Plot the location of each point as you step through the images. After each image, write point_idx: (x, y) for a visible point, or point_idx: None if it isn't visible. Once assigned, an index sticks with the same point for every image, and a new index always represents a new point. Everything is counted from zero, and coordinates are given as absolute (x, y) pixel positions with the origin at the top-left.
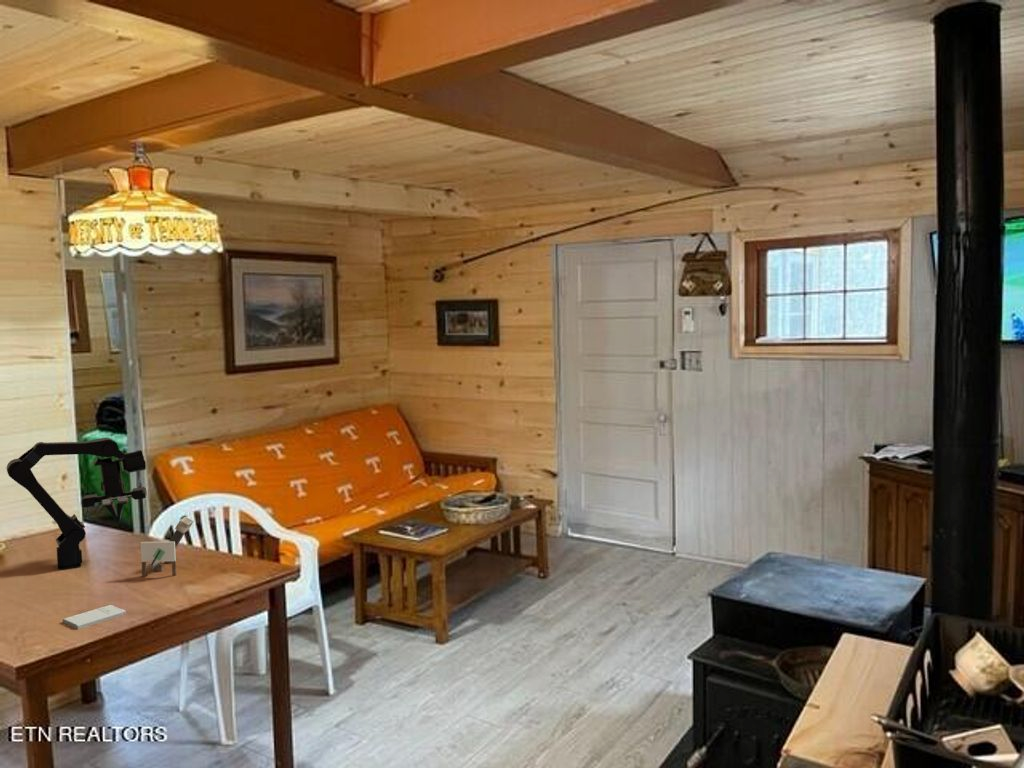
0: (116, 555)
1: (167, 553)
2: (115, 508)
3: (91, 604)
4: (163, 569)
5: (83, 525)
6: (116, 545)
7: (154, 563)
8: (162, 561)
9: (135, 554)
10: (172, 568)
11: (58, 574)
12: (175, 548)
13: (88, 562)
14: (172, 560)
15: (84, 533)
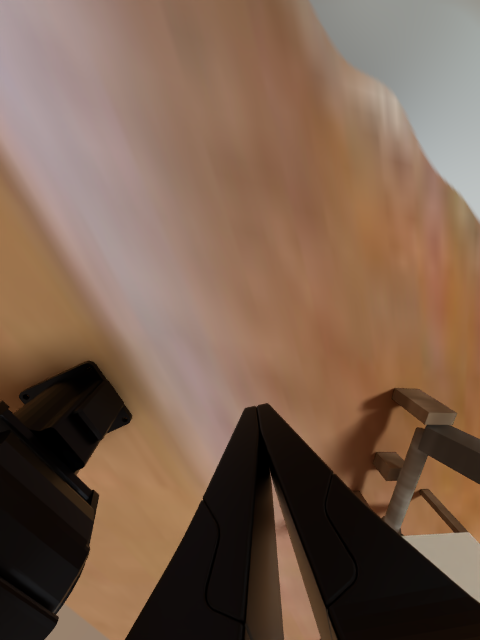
0: (204, 288)
1: (475, 569)
2: (252, 577)
3: (288, 626)
4: (396, 455)
5: (25, 629)
6: (129, 95)
7: (403, 518)
8: (434, 537)
9: (276, 285)
10: (438, 513)
11: (98, 477)
12: (476, 441)
13: (132, 366)
14: (462, 539)
15: (85, 559)
